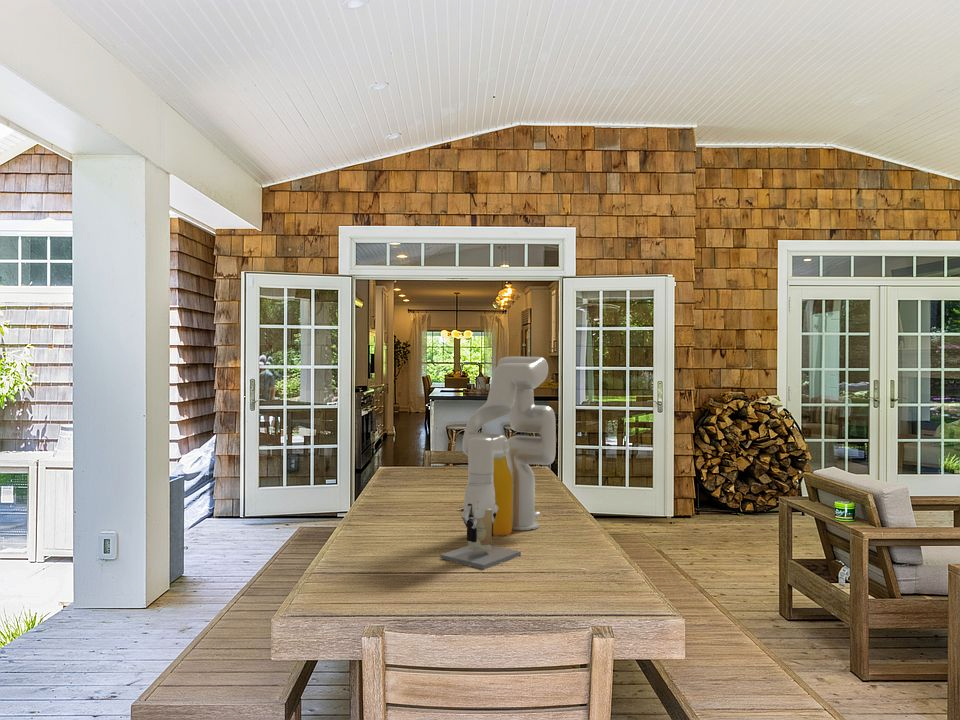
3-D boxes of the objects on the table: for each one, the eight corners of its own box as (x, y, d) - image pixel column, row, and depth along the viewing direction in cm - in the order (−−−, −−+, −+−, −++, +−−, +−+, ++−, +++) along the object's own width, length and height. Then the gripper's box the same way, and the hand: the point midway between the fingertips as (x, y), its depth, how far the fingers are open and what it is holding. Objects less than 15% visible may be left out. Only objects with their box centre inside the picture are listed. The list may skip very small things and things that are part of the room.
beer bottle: (509, 536, 231) (510, 448, 231) (481, 535, 233) (483, 447, 233) (513, 530, 240) (514, 445, 240) (487, 528, 242) (488, 444, 242)
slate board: (478, 546, 219) (478, 542, 219) (520, 555, 209) (520, 551, 209) (440, 558, 205) (440, 554, 205) (484, 569, 195) (484, 565, 195)
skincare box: (471, 552, 204) (471, 510, 204) (467, 548, 209) (468, 506, 209) (492, 550, 206) (493, 508, 206) (488, 546, 210) (488, 505, 210)
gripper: (488, 473, 216) (487, 530, 217) (452, 481, 203) (451, 542, 203) (508, 476, 212) (507, 534, 212) (472, 484, 198) (471, 547, 198)
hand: (480, 538), depth 207 cm, fingers closed on skincare box, 7 cm apart
